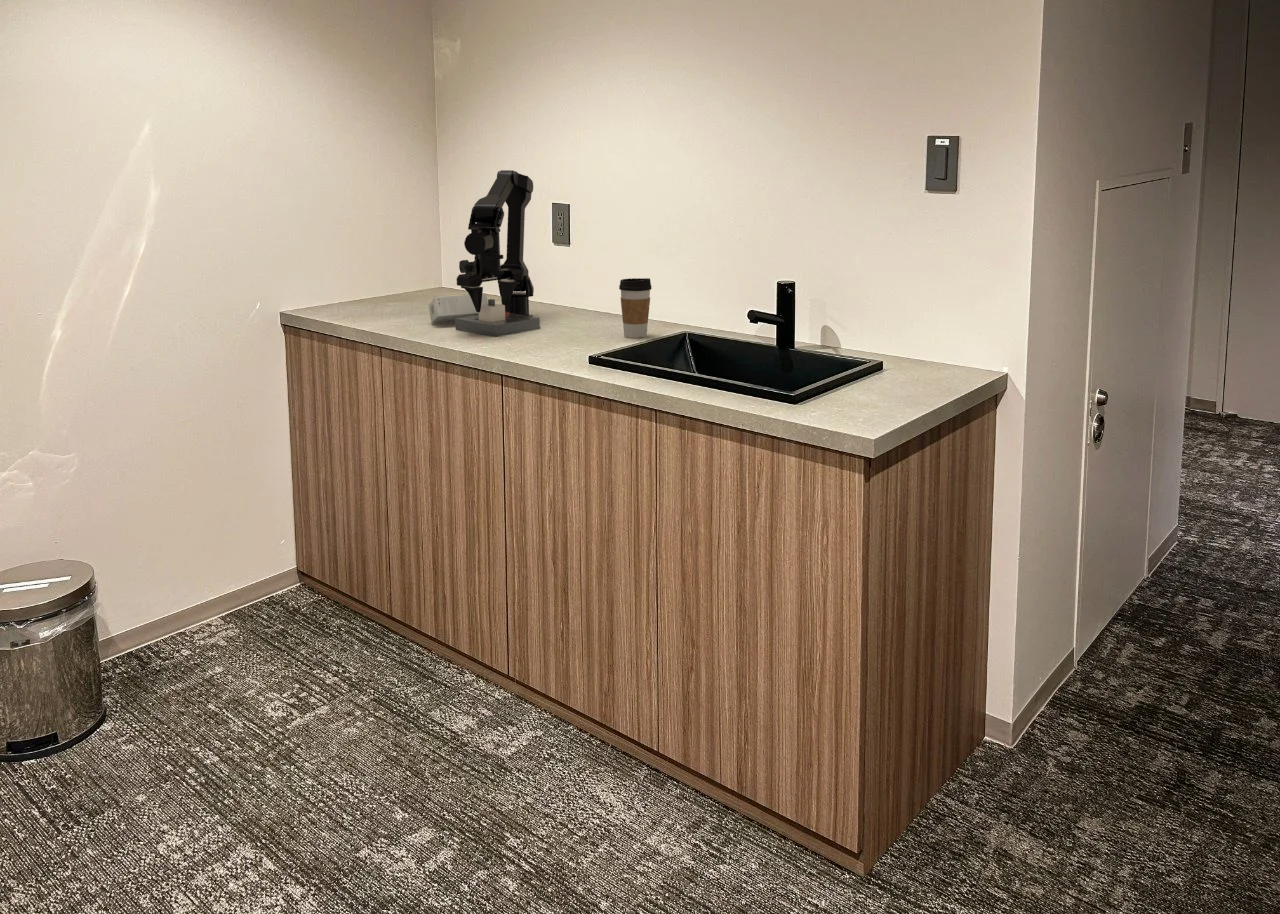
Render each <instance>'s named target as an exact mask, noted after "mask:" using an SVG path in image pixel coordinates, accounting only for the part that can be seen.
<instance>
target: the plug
mask: <svg viewBox="0 0 1280 914" xmlns="http://www.w3.org/2000/svg"><path fill="white" fill-rule="evenodd" d="M495 301H496V300H495V299H494V298H490V299H487V302H488V304H485V305H481V310H480V312H478V313H479V320H480V321H486V322H495V321H501V320H505V305H502V304H500V303H499V304H498V303H496V302H495Z"/></svg>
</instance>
